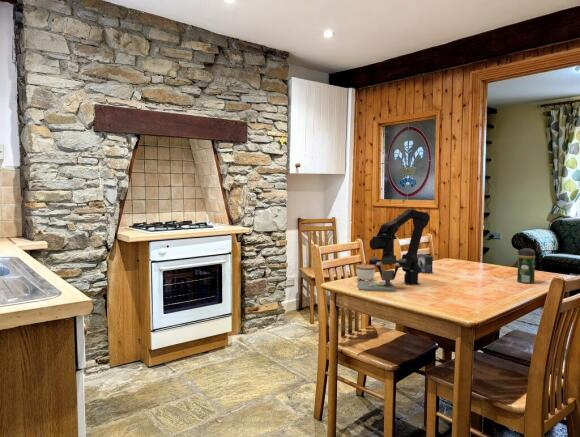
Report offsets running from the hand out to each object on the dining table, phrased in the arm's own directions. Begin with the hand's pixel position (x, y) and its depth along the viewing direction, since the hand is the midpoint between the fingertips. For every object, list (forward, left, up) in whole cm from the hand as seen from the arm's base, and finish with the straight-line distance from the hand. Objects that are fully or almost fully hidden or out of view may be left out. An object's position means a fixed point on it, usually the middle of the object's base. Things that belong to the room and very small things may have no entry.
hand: (387, 278), depth 214 cm
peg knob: (+4, +2, -3) cm, 5 cm away
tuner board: (+6, +1, -5) cm, 8 cm away
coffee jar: (-77, -21, -5) cm, 80 cm away
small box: (-27, -45, -5) cm, 53 cm away
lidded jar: (+10, -17, -5) cm, 21 cm away
